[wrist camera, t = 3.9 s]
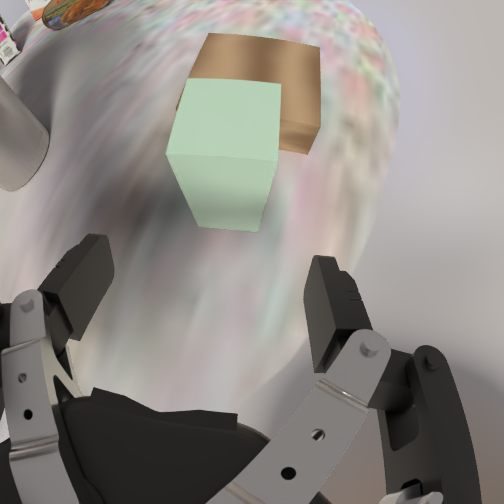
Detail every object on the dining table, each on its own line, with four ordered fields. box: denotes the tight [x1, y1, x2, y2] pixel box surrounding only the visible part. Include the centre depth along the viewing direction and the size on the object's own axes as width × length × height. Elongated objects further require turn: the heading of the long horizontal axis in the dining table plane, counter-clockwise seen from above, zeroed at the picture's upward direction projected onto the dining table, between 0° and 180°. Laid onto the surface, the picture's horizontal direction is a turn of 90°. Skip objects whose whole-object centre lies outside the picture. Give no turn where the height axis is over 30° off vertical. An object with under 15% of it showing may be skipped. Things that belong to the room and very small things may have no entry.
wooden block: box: [176, 33, 321, 155], centre depth 24 cm, size 12×12×5 cm
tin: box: [42, 0, 110, 29], centre depth 26 cm, size 15×3×8 cm, turn 115°
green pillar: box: [166, 78, 281, 232], centre depth 18 cm, size 5×5×12 cm
